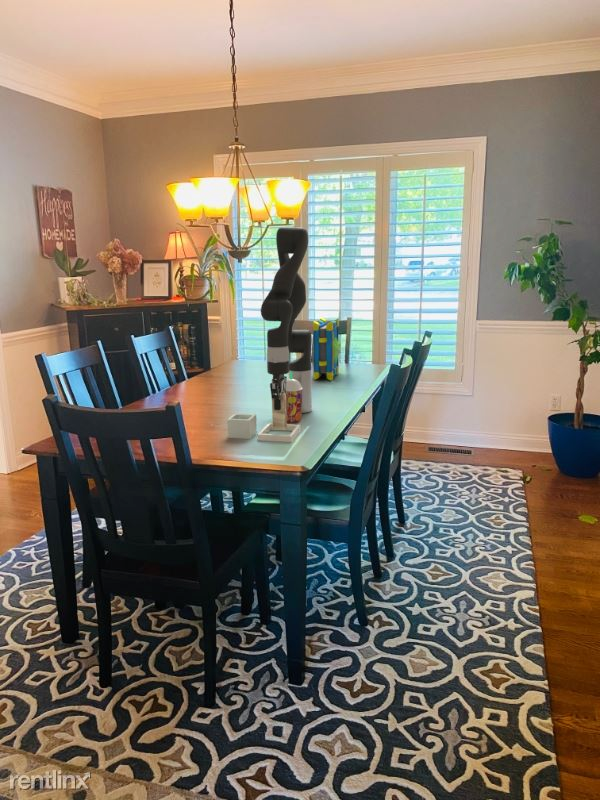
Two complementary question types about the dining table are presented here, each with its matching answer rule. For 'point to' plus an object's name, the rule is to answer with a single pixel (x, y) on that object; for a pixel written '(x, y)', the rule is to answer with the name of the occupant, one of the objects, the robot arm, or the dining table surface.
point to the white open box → (242, 426)
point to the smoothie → (293, 400)
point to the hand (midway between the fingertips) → (279, 408)
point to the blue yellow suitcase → (326, 348)
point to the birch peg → (279, 414)
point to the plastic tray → (274, 437)
